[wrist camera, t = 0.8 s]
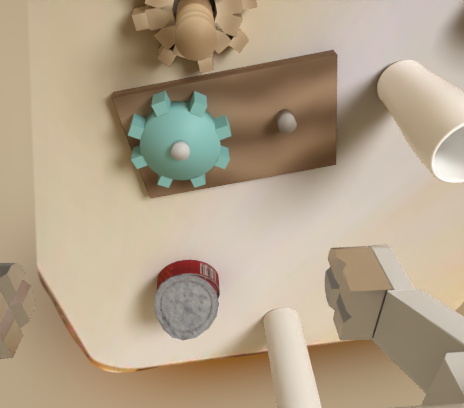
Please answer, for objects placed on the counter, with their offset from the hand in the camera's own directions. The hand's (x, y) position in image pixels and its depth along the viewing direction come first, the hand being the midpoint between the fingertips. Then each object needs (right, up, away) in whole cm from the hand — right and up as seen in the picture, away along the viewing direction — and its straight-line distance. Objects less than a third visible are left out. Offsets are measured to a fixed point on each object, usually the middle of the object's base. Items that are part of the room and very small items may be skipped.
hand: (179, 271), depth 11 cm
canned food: (-6, -10, +54) cm, 55 cm away
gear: (-4, +10, +35) cm, 37 cm away
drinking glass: (+20, +16, +35) cm, 43 cm away
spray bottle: (+10, -19, +63) cm, 67 cm away
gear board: (+1, +11, +37) cm, 38 cm away
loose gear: (-2, +21, +28) cm, 35 cm away
